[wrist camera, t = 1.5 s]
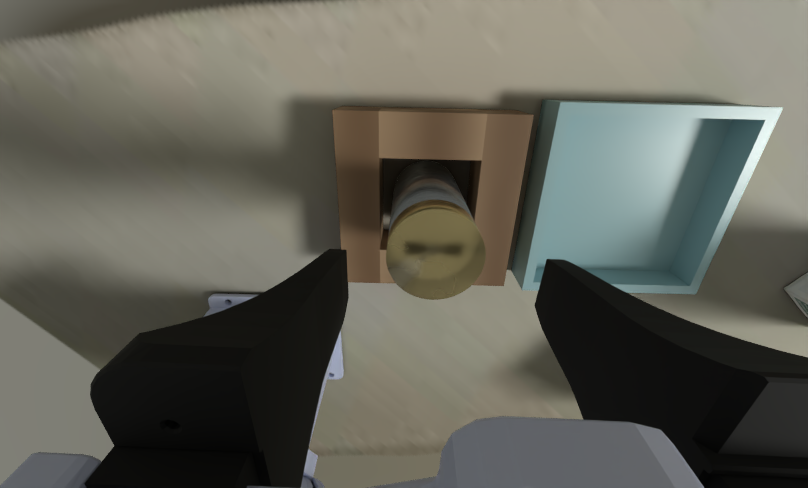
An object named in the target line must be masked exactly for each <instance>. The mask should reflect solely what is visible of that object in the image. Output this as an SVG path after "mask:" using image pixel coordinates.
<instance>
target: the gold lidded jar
mask: <svg viewBox="0 0 808 488" xmlns="http://www.w3.org/2000/svg"><path fill="white" fill-rule="evenodd" d="M485 259H486V249H485V244H484V241H483V238H482V236H481V234H480V232H479V230H478V228H477V225H476V223H475V221H474V219H473V217H472V215H471V213H470V211H469V209H468V206H467V204H466V202H465V200H464V198H463V196H462V194H461V192H460V190H459V187H458V185H457V183H456V181H455V179H454V177H453V175H452V174H451V172H450V171H449V170H448V169H447V168H446V167H444V166H443V165H441V164H440V163H437V162H434V161H418V162H415V163H413V164H410V165H409V166H407V167H406V168H405V169H404V170H403V171H402V172H401V173H400V174H399V176H398V178H397V180H396V182H395V186H394V194H393V202H392V210H391V218H390V226H389V234H388V242H387V250H386V263H387V268H388V271H389V273H390V275H391V277H392V279H393V280H394V281H395V283H396V284H397V285H398V286H399V287H400V288H402V289H403V290H404V291H406V292H407V293H409V294H411V295H414V296H416V297H419V298H424V299H432V300H434V299H445V298H449V297H452V296H455V295H457V294H459V293H461V292H463V291H465V290H466V289H468V288H469V287H470V286H471V285H472V284H473V283H474V282H475V281H476V280H477V278H478V277H479V276H480V274H481V272H482V270H483V267H484V264H485Z"/></svg>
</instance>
